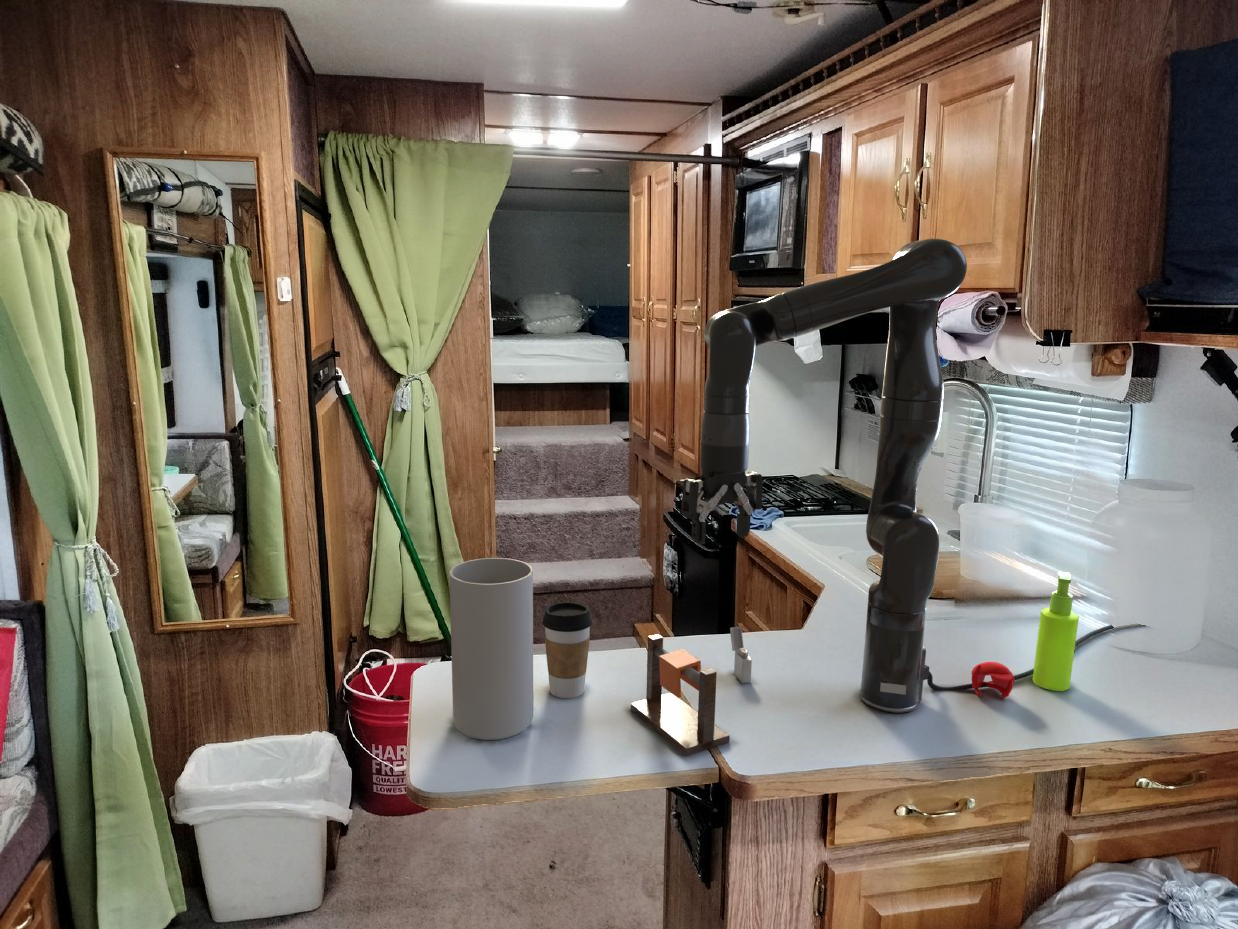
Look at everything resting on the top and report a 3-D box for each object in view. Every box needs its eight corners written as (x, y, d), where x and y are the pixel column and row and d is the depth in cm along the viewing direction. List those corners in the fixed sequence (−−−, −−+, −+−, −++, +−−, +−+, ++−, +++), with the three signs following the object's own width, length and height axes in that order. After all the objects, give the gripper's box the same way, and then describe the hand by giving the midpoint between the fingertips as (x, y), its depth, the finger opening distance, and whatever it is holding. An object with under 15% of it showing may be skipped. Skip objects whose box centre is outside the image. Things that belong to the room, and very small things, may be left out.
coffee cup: (554, 706, 139) (554, 620, 136) (534, 685, 146) (534, 602, 143) (600, 696, 143) (601, 611, 140) (579, 675, 150) (579, 595, 147)
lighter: (751, 682, 149) (753, 639, 147) (741, 683, 148) (743, 640, 147) (737, 665, 155) (739, 624, 154) (728, 666, 155) (729, 624, 153)
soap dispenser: (1068, 677, 152) (1082, 571, 148) (1070, 693, 146) (1084, 583, 142) (1032, 671, 155) (1045, 566, 151) (1032, 686, 149) (1046, 578, 145)
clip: (683, 677, 136) (682, 648, 134) (701, 690, 131) (700, 660, 130) (660, 685, 133) (659, 656, 132) (678, 698, 129) (677, 668, 128)
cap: (959, 687, 148) (962, 655, 147) (986, 682, 150) (989, 651, 149) (993, 708, 141) (997, 674, 140) (1021, 703, 143) (1025, 670, 142)
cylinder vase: (451, 706, 138) (447, 560, 133) (527, 699, 141) (527, 555, 136) (455, 746, 126) (451, 587, 121) (538, 737, 129) (538, 581, 124)
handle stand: (671, 698, 142) (673, 630, 140) (729, 742, 129) (733, 667, 126) (630, 709, 138) (631, 639, 136) (686, 756, 125) (688, 679, 122)
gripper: (702, 447, 126) (698, 552, 129) (775, 440, 133) (770, 539, 137) (674, 439, 133) (671, 539, 136) (745, 433, 140) (741, 528, 143)
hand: (721, 539), depth 136 cm, fingers open, 8 cm apart
